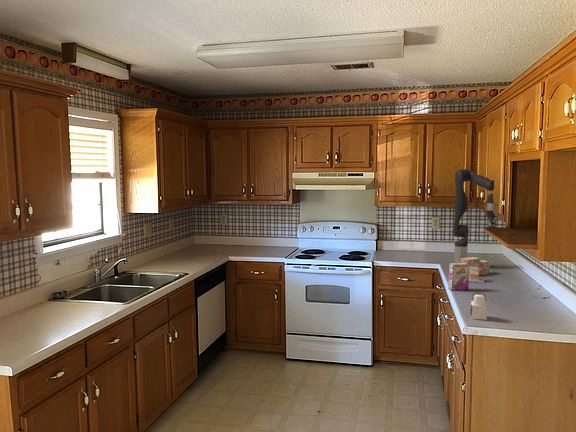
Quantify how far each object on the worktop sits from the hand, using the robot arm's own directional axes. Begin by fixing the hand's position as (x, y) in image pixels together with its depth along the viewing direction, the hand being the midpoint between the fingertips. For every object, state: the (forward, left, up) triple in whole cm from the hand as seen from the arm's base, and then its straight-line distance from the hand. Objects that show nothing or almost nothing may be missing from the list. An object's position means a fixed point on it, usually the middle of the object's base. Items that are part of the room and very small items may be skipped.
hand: (491, 233), depth 324 cm
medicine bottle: (+95, -23, -32) cm, 102 cm away
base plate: (+10, -12, -31) cm, 35 cm away
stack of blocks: (-12, -8, -32) cm, 35 cm away
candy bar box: (+37, -25, -32) cm, 54 cm away
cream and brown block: (+9, -12, -30) cm, 34 cm away
